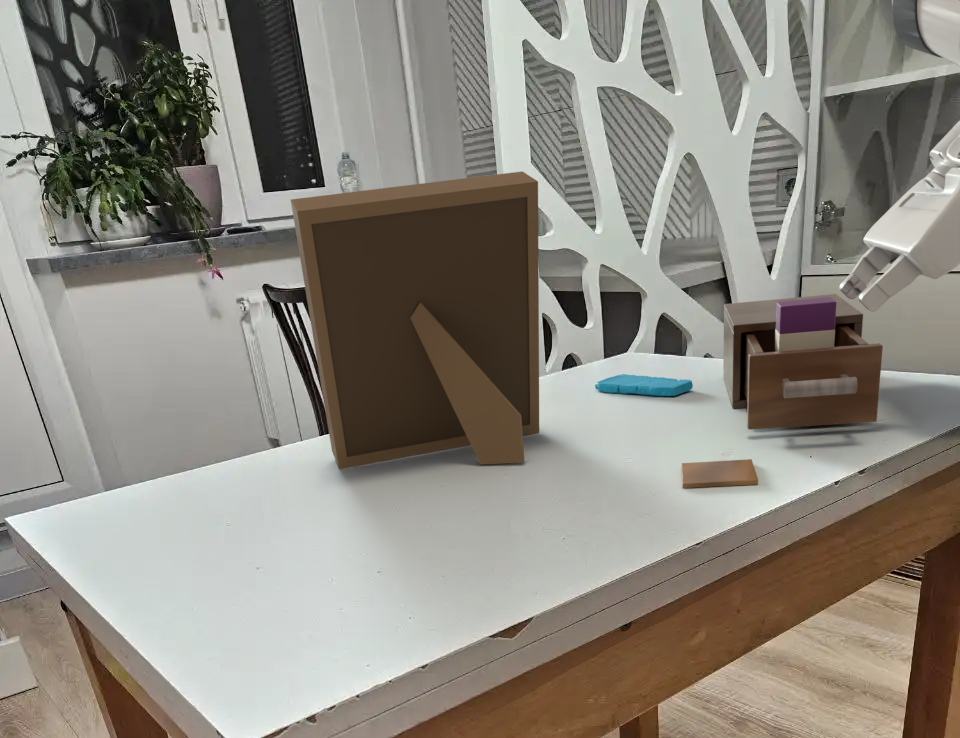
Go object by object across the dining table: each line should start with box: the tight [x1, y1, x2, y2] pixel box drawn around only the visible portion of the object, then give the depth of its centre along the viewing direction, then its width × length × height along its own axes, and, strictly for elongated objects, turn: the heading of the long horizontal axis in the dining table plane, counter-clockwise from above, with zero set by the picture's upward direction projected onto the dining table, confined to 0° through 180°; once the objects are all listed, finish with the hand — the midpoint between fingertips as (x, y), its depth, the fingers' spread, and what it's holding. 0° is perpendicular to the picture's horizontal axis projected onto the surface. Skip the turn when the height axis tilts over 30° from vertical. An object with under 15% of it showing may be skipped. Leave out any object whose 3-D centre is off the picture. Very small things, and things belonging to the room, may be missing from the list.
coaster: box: [680, 458, 759, 489], centre depth 77 cm, size 6×6×1 cm
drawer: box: [743, 324, 884, 431], centre depth 88 cm, size 20×11×7 cm, turn 170°
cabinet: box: [722, 293, 864, 409], centre depth 101 cm, size 17×13×9 cm
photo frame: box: [290, 171, 540, 470], centre depth 87 cm, size 15×22×25 cm
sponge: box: [594, 373, 694, 397], centre depth 110 cm, size 2×12×6 cm
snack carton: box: [775, 297, 836, 352], centre depth 89 cm, size 5×4×9 cm
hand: (854, 300), depth 85 cm, fingers open, 8 cm apart
